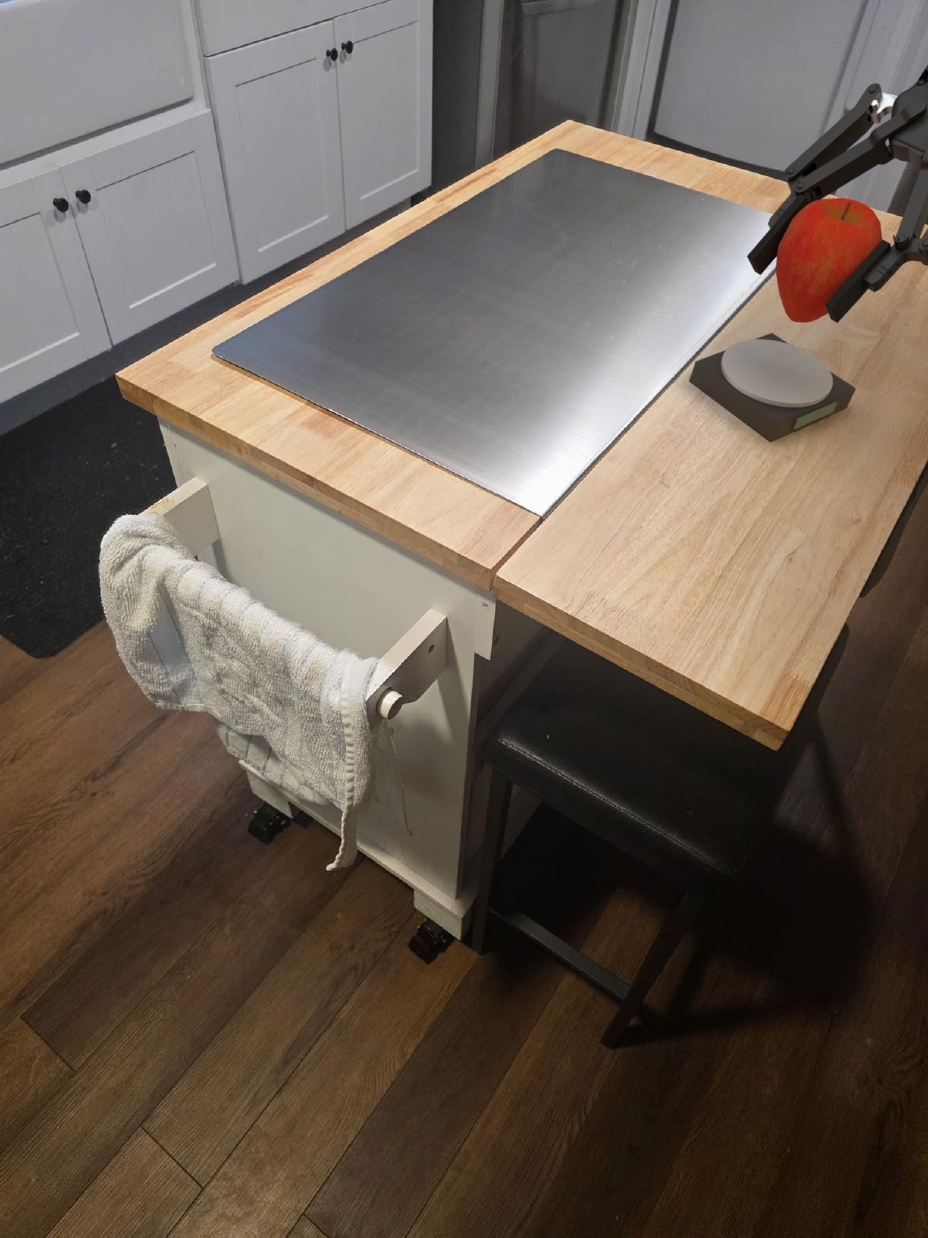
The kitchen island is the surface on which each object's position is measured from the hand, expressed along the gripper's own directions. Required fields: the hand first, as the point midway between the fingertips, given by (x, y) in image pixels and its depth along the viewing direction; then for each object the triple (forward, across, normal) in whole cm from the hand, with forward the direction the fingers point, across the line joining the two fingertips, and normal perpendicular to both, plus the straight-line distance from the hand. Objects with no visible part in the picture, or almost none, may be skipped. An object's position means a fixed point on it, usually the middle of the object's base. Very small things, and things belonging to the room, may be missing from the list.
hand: (791, 288), depth 77 cm
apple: (+1, 0, -5) cm, 5 cm away
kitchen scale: (+5, +3, -17) cm, 18 cm away
